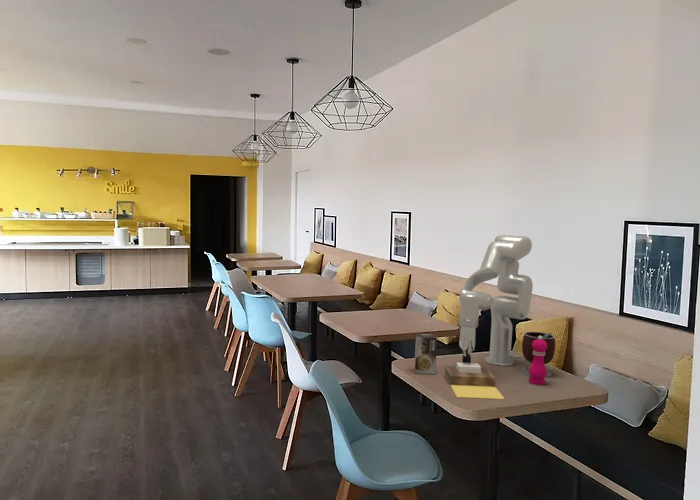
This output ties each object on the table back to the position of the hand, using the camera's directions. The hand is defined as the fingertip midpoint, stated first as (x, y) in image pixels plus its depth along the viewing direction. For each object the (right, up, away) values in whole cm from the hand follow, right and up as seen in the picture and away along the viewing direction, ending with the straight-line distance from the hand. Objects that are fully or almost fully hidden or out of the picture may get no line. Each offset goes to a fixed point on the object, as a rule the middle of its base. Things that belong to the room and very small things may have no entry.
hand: (466, 365), depth 235 cm
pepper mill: (+29, -7, -4) cm, 30 cm away
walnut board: (0, -6, -6) cm, 8 cm away
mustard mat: (0, -7, -20) cm, 21 cm away
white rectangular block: (0, 0, -5) cm, 5 cm away
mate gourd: (+34, -6, +10) cm, 36 cm away
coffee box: (-17, -4, +5) cm, 18 cm away
